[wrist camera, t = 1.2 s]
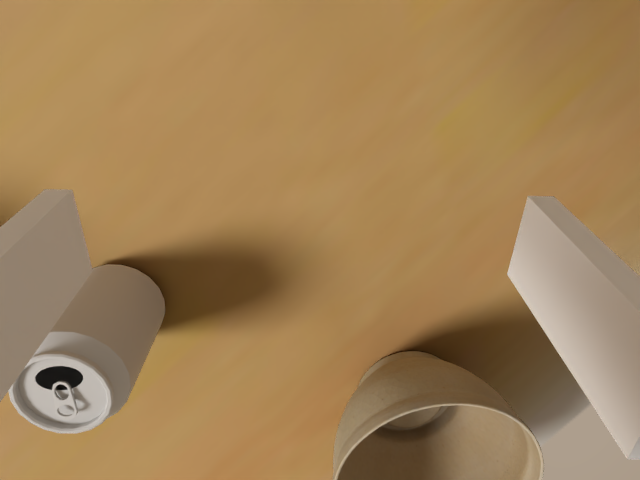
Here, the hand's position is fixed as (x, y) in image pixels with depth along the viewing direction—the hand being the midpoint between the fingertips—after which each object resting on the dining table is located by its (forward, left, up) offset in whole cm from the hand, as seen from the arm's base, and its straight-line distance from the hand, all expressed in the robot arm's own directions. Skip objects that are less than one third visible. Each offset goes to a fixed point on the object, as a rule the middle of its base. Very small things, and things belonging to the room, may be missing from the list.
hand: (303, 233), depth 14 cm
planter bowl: (-10, +26, -23) cm, 36 cm away
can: (+15, +15, -23) cm, 31 cm away
